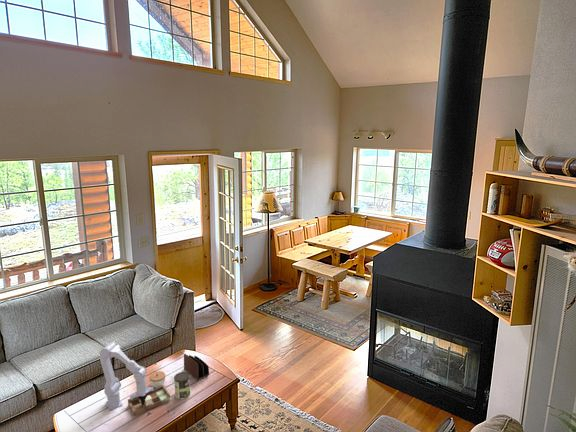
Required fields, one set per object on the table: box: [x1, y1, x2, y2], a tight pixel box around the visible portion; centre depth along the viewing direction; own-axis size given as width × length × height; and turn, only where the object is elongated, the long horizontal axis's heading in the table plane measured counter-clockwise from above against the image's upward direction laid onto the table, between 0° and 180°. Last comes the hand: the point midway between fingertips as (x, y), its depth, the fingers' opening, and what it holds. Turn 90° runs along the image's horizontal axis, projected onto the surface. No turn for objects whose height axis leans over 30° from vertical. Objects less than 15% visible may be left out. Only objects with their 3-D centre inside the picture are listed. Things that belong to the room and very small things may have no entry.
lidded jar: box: [149, 370, 166, 389], centre depth 276 cm, size 11×11×9 cm
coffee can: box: [173, 371, 191, 400], centre depth 266 cm, size 10×10×14 cm
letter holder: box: [183, 353, 210, 382], centre depth 291 cm, size 10×20×14 cm, turn 45°
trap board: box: [127, 385, 171, 416], centre depth 259 cm, size 12×24×4 cm, turn 128°
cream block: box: [144, 395, 152, 406], centre depth 255 cm, size 4×4×4 cm
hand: (142, 404), depth 253 cm, fingers closed
